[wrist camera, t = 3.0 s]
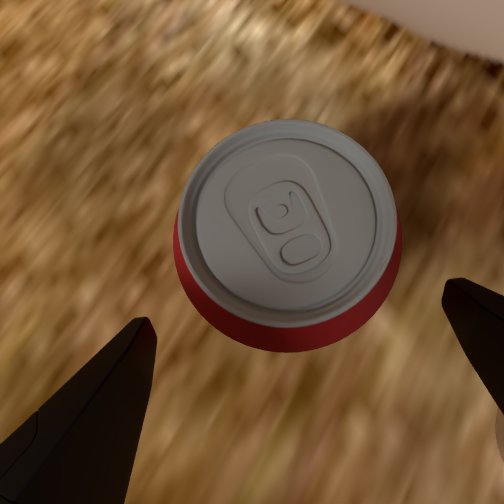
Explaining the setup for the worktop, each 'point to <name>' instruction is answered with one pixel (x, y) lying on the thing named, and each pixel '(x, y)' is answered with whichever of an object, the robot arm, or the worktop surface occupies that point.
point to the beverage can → (287, 236)
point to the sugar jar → (500, 432)
